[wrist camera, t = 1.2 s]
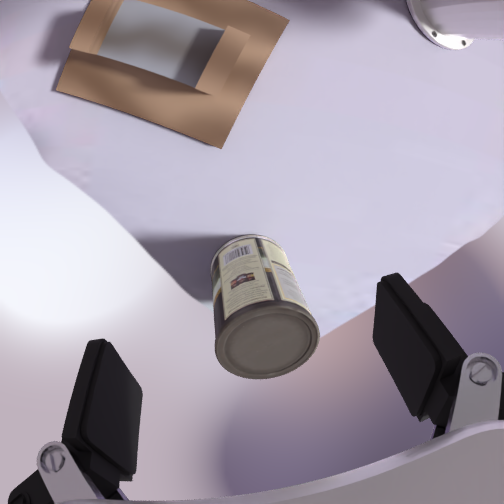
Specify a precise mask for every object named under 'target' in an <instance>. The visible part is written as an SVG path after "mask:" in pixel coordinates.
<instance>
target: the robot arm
mask: <svg viewBox="0 0 504 504" xmlns="http://www.w3.org/2000/svg"><path fill="white" fill-rule="evenodd" d="M406 1H407V5H408V8H409V11H410V13H411V15H412V17H413V19H414V21H415V23H416V24H417V26H418V27H419V29H420V30H421V31H422V32H423V34H424V35H425V36H426V37H428V38H429V39H430V40H431V41H432V42H434V43H435V44H436V45H438V46H440V47H442V48H445V49H449V50H462V49H465V48H467V47H468V46H469V45H471V43H472V42H473V41H474V39H488V40H504V0H406ZM373 342H374V345H375V346H376V348H377V350H378V352H379V354H380V356H381V357H382V359H383V361H384V363H385V365H386V367H387V369H388V371H389V372H390V374H391V376H392V378H393V380H394V382H395V384H396V386H397V387H398V390H399V392H400V393H401V395H402V397H403V399H404V401H405V403H406V405H407V407H408V409H409V411H410V413H411V415H412V416H417V417H418V419H419V421H420V422H421V421H424V420H425V419H428V418H430V419H431V421H432V423H433V424H434V428H433V431H432V434H431V438H430V440H429V441H427V442H425V443H423V444H420V445H418V446H416V447H413V448H411V449H409V450H406V451H404V452H401V453H398V454H396V455H393V456H391V457H388V458H385V459H383V460H380V461H377V462H375V463H372V464H369V465H366V466H363V467H360V468H357V469H354V470H351V471H348V472H344V473H341V474H338V475H334V476H331V477H327V478H324V479H320V480H316V481H312V482H308V483H304V484H299V485H295V486H290V487H286V488H281V489H275V490H270V491H265V492H259V493H252V494H246V495H238V496H231V497H221V498H211V499H198V500H180V501H129V499H128V498H127V497H126V496H125V494H124V493H123V492H122V490H121V489H120V488H119V481H132V476H133V474H135V473H136V466H137V451H138V437H139V426H140V415H141V405H142V396H143V394H142V389H141V387H140V385H139V384H138V382H137V381H136V379H135V378H134V377H133V375H132V374H131V373H130V371H129V370H128V368H127V367H126V365H125V363H124V362H123V361H122V359H121V358H120V356H119V354H118V353H117V351H116V350H115V348H114V347H113V345H112V344H111V343H110V342H107V341H106V340H105V339H97V340H91V341H89V342H88V344H87V346H86V349H85V352H84V355H83V359H82V362H81V365H80V369H79V372H78V375H77V379H76V382H75V386H74V389H73V393H72V397H71V400H70V404H69V408H68V412H67V416H66V420H65V424H64V428H63V433H62V441H61V442H57V441H53V442H49V443H47V444H45V445H44V446H43V447H42V448H41V450H40V451H39V453H38V456H37V466H38V470H36V471H35V472H34V473H33V474H32V475H30V476H29V477H28V478H27V479H26V480H25V481H23V482H22V483H21V484H20V485H18V486H17V487H16V488H15V489H14V490H13V491H12V492H11V493H10V496H9V499H8V504H504V372H502V369H501V366H500V364H499V362H498V361H497V360H496V359H495V358H494V357H492V356H491V355H488V354H485V353H475V354H472V355H470V356H469V357H468V356H467V354H466V353H465V352H464V350H463V349H462V348H461V346H460V345H459V344H458V342H457V341H456V340H455V338H454V337H453V336H452V334H451V333H450V332H449V330H448V329H447V328H446V326H445V325H444V324H443V323H442V321H441V320H440V319H439V317H438V316H437V315H436V314H435V312H434V311H433V310H432V309H431V307H430V306H429V305H428V304H426V303H423V302H422V301H421V299H420V298H419V297H418V296H417V295H416V293H415V292H414V291H413V289H412V288H411V287H410V286H409V285H408V283H407V282H406V281H405V280H404V279H403V277H402V276H401V275H400V274H399V273H394V274H390V275H387V276H383V277H382V278H381V282H378V283H377V292H376V306H375V317H374V328H373Z"/></svg>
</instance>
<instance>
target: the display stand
mask: <svg viewBox="0 0 504 504" xmlns="http://www.w3.org/2000/svg"><path fill="white" fill-rule="evenodd" d="M289 21H290V20H288V19H286V18H284V17H282V16H280V15H278V14H276V13H274V12H272V11H270V10H268V9H265V8H263V7H261V6H259V5H257V4H255V3H252V2H250V1H248V0H91V2H90V4H89V6H88V8H87V10H86V12H85V14H84V16H83V18H82V20H81V22H80V24H79V26H78V28H77V30H76V32H75V35H74V37H73V39H72V41H71V44H70V46H69V48H71V51H70V54H69V56H68V59H67V61H66V64H65V66H64V69H63V72H62V74H61V77H60V80H59V83H58V85H57V88H56V90H57V91H60V92H64V93H67V94H70V95H74V96H77V97H80V98H83V99H87V100H90V101H93V102H96V103H99V104H102V105H105V106H108V107H111V108H114V109H117V110H120V111H123V112H126V113H129V114H132V115H135V116H137V117H140V118H143V119H146V120H148V121H151V122H154V123H157V124H159V125H162V126H165V127H167V128H170V129H172V130H175V131H178V132H180V133H183V134H185V135H188V136H190V137H193V138H195V139H198V140H200V141H203V142H205V143H208V144H210V145H212V146H215V147H217V148H220V149H222V147H223V145H224V143H225V141H226V139H227V137H228V135H229V132H230V130H231V128H232V126H233V124H234V122H235V120H236V118H237V116H238V114H239V112H240V110H241V108H242V106H243V105H244V103H245V101H246V99H247V97H248V95H249V93H250V91H251V89H252V87H253V85H254V83H255V81H256V80H257V78H258V76H259V74H260V72H261V70H262V68H263V67H264V65H265V63H266V61H267V59H268V57H269V56H270V54H271V52H272V50H273V48H274V47H275V45H276V43H277V41H278V40H279V38H280V36H281V34H282V33H283V31H284V29H285V27H286V26H287V24H288V22H289Z"/></svg>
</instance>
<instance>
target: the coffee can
mask: <svg viewBox="0 0 504 504" xmlns="http://www.w3.org/2000/svg"><path fill="white" fill-rule="evenodd" d="M211 278H212V292H213V307H214V323H215V338H216V339H215V353H216V357H217V359H218V361H219V363H220V364H221V365H222V367H224V368H225V369H226V370H227V371H229V372H230V373H233V374H235V375H237V376H240V377H243V378H248V379H267V378H274V377H278V376H281V375H284V374H287V373H289V372H291V371H293V370H295V369H297V368H298V367H300V366H301V365H303V364H304V363H305V362H306V361H307V360H308V359H309V358H310V357H311V356H312V354H313V353H314V352H315V350H316V348H317V346H318V343H319V338H320V332H319V328H318V325H317V323H316V321H315V319H314V318H313V316H312V315H311V312H310V310H309V308H308V305H307V303H306V301H305V299H304V296H303V294H302V292H301V290H300V287H299V285H298V283H297V281H296V278H295V276H294V274H293V271H292V269H291V267H290V265H289V263H288V260H287V257H286V254H285V252H284V250H283V249H282V248H281V247H280V246H279V245H278V244H277V243H276V242H275V241H273V240H271V239H269V238H267V237H264V236H260V235H245V236H241V237H237V238H235V239H232V240H230V241H229V242H227V243H226V244H224V245H223V246H222V247H221V248H220V249H219V250H218V251H217V253H216V254H215V256H214V258H213V260H212V263H211Z"/></svg>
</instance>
